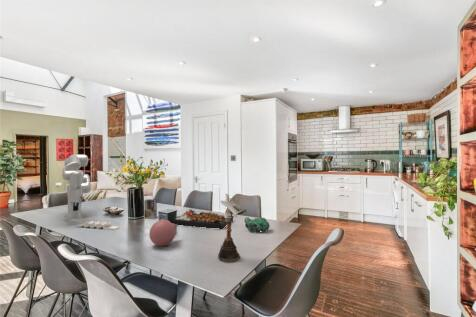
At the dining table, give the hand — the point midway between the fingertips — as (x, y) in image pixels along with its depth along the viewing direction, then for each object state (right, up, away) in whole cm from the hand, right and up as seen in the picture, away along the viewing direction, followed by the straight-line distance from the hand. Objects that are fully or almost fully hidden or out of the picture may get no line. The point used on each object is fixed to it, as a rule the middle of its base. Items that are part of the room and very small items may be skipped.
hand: (75, 210), depth 187 cm
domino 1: (+7, -10, -5) cm, 13 cm away
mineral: (+142, -13, -11) cm, 143 cm away
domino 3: (+18, -11, -7) cm, 22 cm away
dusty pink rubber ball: (+83, -13, -39) cm, 92 cm away
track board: (+17, -12, -7) cm, 22 cm away
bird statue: (+126, -13, -59) cm, 139 cm away
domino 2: (+12, -11, -6) cm, 17 cm away
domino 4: (+23, -11, -8) cm, 27 cm away
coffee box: (+50, -12, +24) cm, 57 cm away
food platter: (+98, -13, +9) cm, 99 cm away
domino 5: (+29, -11, -9) cm, 32 cm away
